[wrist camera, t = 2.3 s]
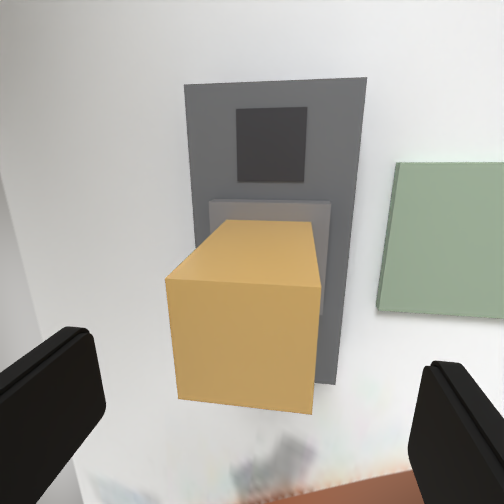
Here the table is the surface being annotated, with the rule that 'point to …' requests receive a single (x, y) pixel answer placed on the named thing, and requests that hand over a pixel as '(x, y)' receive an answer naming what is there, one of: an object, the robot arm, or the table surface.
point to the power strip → (282, 165)
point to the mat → (445, 240)
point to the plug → (251, 305)
